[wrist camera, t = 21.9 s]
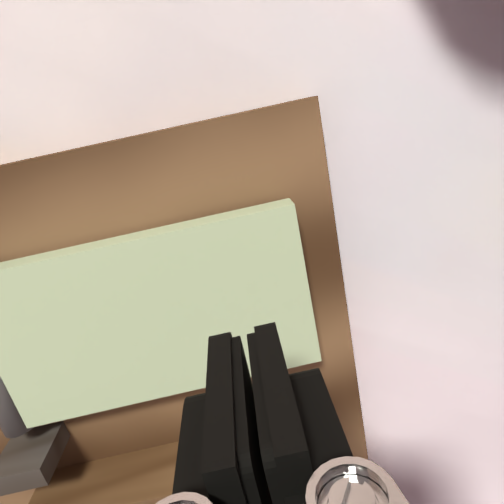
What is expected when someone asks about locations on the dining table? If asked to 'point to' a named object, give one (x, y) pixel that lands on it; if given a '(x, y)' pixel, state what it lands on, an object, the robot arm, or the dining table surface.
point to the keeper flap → (146, 312)
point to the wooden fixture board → (156, 215)
